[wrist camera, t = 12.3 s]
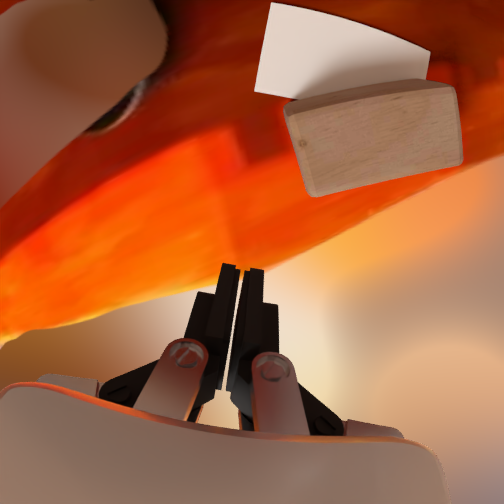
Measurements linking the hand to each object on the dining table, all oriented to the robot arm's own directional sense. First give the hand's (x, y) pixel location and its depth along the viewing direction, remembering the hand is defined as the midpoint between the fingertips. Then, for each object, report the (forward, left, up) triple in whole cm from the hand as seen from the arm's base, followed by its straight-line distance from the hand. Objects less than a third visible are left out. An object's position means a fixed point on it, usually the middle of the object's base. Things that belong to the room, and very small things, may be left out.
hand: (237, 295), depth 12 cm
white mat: (-14, +9, -31) cm, 35 cm away
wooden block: (-11, +22, -25) cm, 35 cm away
